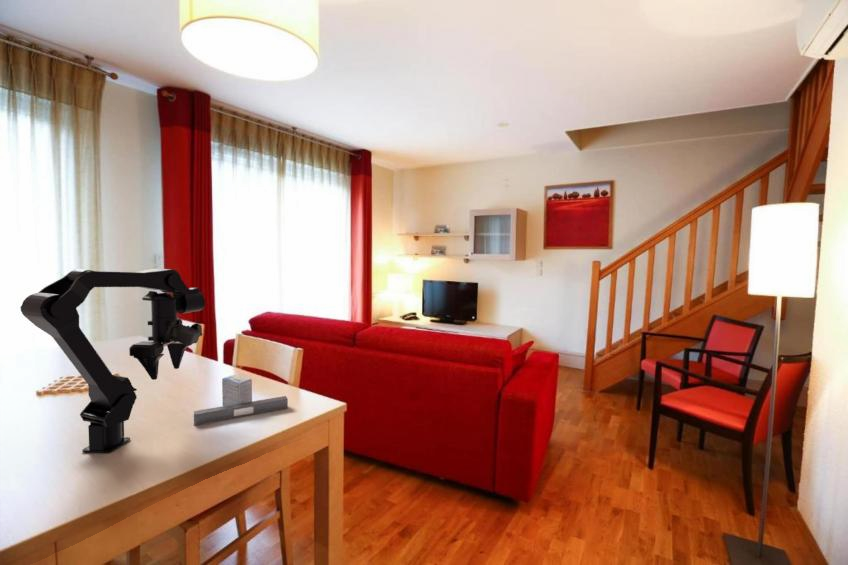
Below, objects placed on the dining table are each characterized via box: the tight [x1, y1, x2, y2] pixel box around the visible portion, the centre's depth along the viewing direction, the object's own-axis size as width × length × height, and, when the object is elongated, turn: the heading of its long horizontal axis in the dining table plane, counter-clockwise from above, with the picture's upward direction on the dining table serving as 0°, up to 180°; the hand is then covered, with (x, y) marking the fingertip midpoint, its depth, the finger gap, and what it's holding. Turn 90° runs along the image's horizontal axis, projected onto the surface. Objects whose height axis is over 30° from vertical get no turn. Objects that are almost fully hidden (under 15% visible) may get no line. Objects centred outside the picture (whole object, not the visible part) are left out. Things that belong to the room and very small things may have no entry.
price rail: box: [193, 395, 289, 426], centre depth 111 cm, size 24×3×3 cm, turn 123°
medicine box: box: [221, 374, 253, 406], centre depth 117 cm, size 8×4×9 cm, turn 62°
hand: (166, 373), depth 105 cm, fingers open, 9 cm apart
